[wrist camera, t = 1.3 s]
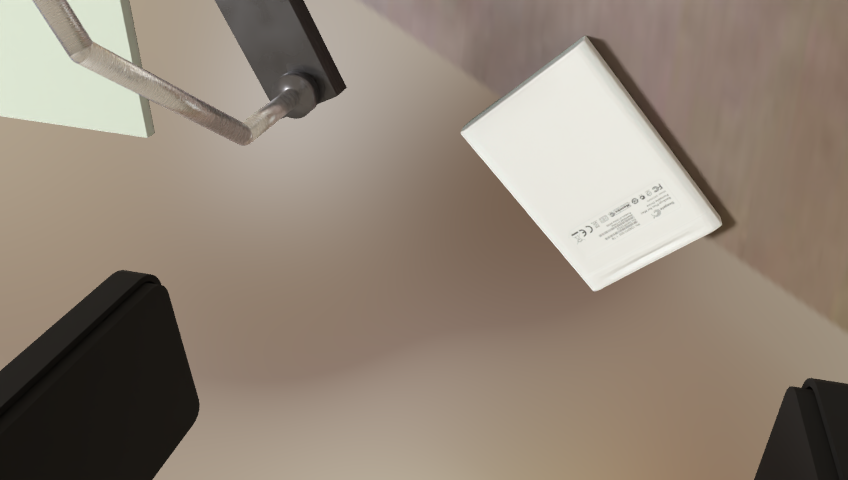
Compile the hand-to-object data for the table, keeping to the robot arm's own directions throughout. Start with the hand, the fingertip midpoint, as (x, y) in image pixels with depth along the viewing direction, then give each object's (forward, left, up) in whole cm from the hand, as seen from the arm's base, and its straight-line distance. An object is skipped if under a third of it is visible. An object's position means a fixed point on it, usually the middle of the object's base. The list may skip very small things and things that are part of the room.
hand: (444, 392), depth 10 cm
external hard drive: (+9, +2, -28) cm, 29 cm away
